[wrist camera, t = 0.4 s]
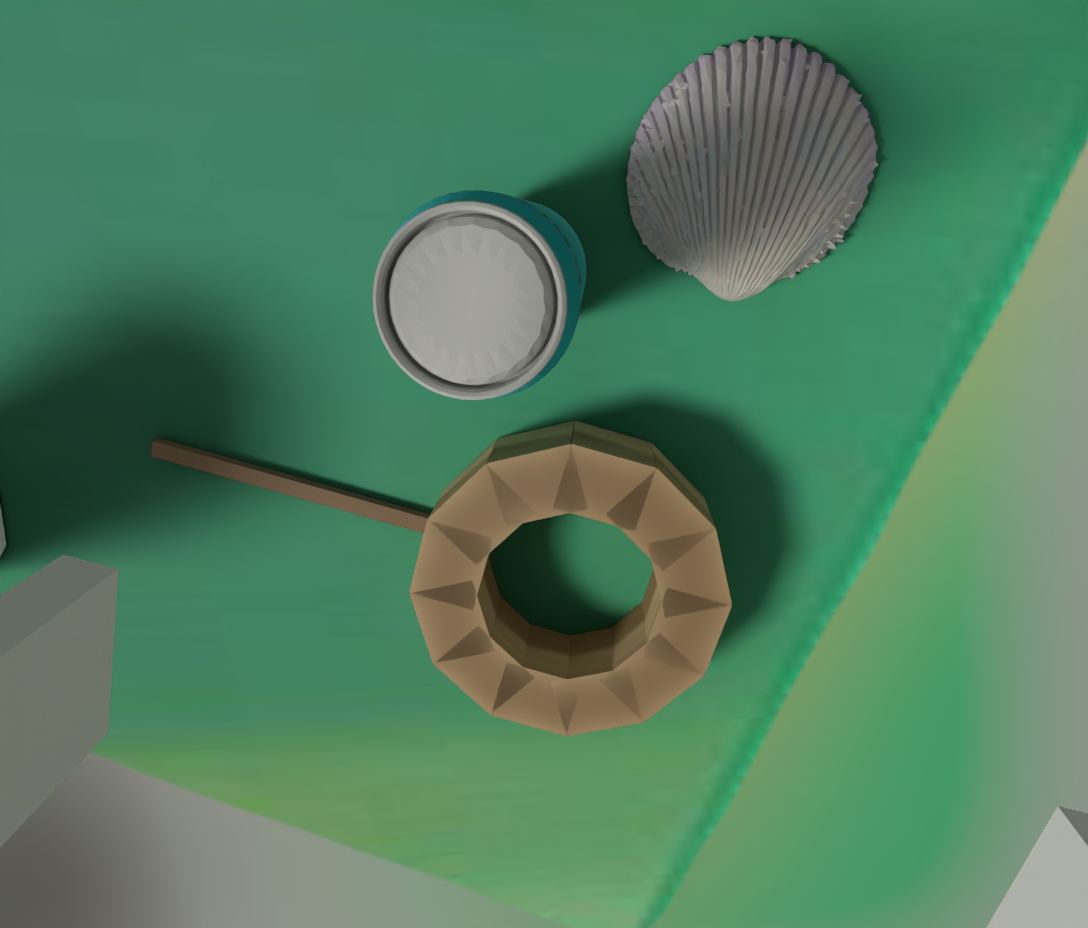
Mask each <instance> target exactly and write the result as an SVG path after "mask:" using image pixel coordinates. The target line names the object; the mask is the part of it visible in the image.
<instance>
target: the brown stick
mask: <svg viewBox="0 0 1088 928" xmlns="http://www.w3.org/2000/svg"><path fill="white" fill-rule="evenodd" d="M151 456H152V457H155V458H159V459H162V460H166V461H169V462H173V463H177V464H180V465H184V466H187V467H191V468H194V469H198V470H201V471H205V472H209V473H212V474H216V475H219V476H223V477H226V478H230V479H233V480H237V481H241V482H244V483H248V484H251V485H255V486H258V487H262V488H265V489H269V490H273V491H276V492H280V493H283V494H287V495H290V496H294V497H297V498H301V499H305V500H308V501H312V502H315V503H319V504H322V505H326V506H329V507H333V508H336V509H340V510H344V511H347V512H351V513H354V514H358V515H361V516H365V517H368V518H372V519H376V520H379V521H383V522H386V523H390V524H393V525H397V526H400V527H404V528H408V529H411V530H415V531H418V532H422V533H424V530H425V526H426V522H427V519H428V517H429V516H430V514H428V513H424V512H421V511H417V510H414V509H410V508H407V507H403V506H400V505H396V504H393V503H389V502H385V501H382V500H378V499H375V498H371V497H368V496H364V495H361V494H357V493H353V492H350V491H346V490H343V489H339V488H336V487H332V486H329V485H325V484H322V483H318V482H314V481H311V480H307V479H304V478H300V477H297V476H293V475H290V474H286V473H283V472H279V471H275V470H272V469H268V468H265V467H261V466H258V465H254V464H251V463H247V462H244V461H240V460H236V459H233V458H229V457H226V456H222V455H219V454H215V453H212V452H208V451H204V450H201V449H197V448H194V447H190V446H187V445H183V444H180V443H176V442H173V441H169V440H165V439H162V438H157V439H155V440H153V441H152V448H151Z"/></svg>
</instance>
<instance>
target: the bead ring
mask: <svg viewBox="0 0 1088 928" xmlns="http://www.w3.org/2000/svg"><path fill="white" fill-rule="evenodd" d="M567 513H572V514H576V515H580V516H583V517H587V518H590V519H594V520H597V521H601V522H604V523H608V524H611V525H615V526H618V527H619V528H620V529H621V530H622V531H623V532H624V533H625V534H626V535H627V536H628V537H629V538H630V539H631V540H632V541H633V542H634V543H635V544H636V545H637V546H638V547H639V548H640V549H641V550H642V551H643V552H644V553H645V554H646V555H647V556H648V557H649V558H650V559H651V561H652V565H653V569H654V570H653V573H652V576H651V578H650V581H649V584H648V587H647V590H646V593H645V595H644V598H643V601H642V602H641V603H640V604H639V605H638V606H637V607H635V608H634V609H633V610H632V611H630V612H629V613H628V614H627V615H626V616H624V617H623V618H622V619H621V620H620V621H618V622H617V623H616V624H615V625H613V626H612V627H611V628H606V629H601V630H596V631H590V632H585V633H580V634H575V635H567V634H563V633H560V632H556V631H552V630H549V629H545V628H542V627H538V626H535V625H531V624H529V623H528V622H527V621H526V620H525V619H524V618H523V617H522V616H521V615H520V614H519V613H518V612H516V611H515V610H514V609H513V608H512V607H511V606H510V605H509V604H508V603H507V602H506V601H505V600H504V599H503V598H501V597H500V594H499V590H498V587H497V584H496V580H495V577H494V574H493V570H492V567H491V564H490V561H489V557H490V553H491V551H492V550H493V549H495V548H496V547H497V546H498V545H499V544H500V543H501V542H502V541H503V540H505V539H506V538H507V537H508V536H509V535H510V534H511V533H512V532H513V531H514V530H516V529H517V528H518V527H519V526H520V525H521V524H522V523H526V522H531V521H535V520H540V519H544V518H549V517H553V516H558V515H563V514H567ZM409 594H410V597H411V600H412V603H413V606H414V609H415V612H416V615H417V618H418V621H419V624H420V626H421V629H422V632H423V635H424V638H425V641H426V644H427V647H428V650H429V653H430V656H431V659H432V662H433V663H434V665H435V666H436V667H437V668H438V669H439V670H441V671H442V672H443V673H444V674H445V675H446V676H447V677H448V678H450V679H451V680H452V681H453V682H454V683H455V684H456V685H457V686H458V687H460V688H461V689H462V690H463V691H464V692H465V693H466V694H467V695H468V696H470V697H471V698H472V699H473V700H474V701H475V702H476V703H477V704H479V705H480V706H481V707H482V708H483V709H484V710H485V711H486V712H487V713H489V714H491V715H492V716H496V717H499V718H503V719H506V720H510V721H514V722H517V723H521V724H524V725H528V726H532V727H535V728H539V729H542V730H546V731H550V732H553V733H557V734H560V735H564V736H569V735H575V734H581V733H586V732H592V731H598V730H603V729H609V728H614V727H620V726H626V725H631V724H637V723H643V722H645V721H646V720H647V719H648V718H650V717H651V716H652V715H654V714H655V713H656V712H658V711H659V710H660V709H662V708H663V707H664V706H665V705H667V704H668V703H669V702H671V701H672V700H673V699H675V698H676V697H677V696H678V695H680V694H681V693H682V692H684V691H685V690H686V689H688V688H689V687H690V686H692V685H693V684H694V683H695V682H697V681H698V680H699V679H701V678H702V677H703V676H704V675H705V673H706V670H707V668H708V665H709V663H710V660H711V658H712V655H713V653H714V650H715V648H716V645H717V643H718V640H719V637H720V635H721V632H722V630H723V627H724V625H725V622H726V620H727V617H728V615H729V612H730V610H731V607H732V602H731V597H730V593H729V588H728V583H727V578H726V574H725V569H724V564H723V559H722V555H721V550H720V545H719V540H718V536H717V531H716V527H715V525H714V522H713V519H712V517H711V514H710V511H709V509H708V506H707V503H706V501H705V498H704V496H703V495H702V494H701V493H700V492H699V491H698V490H697V489H696V488H695V487H694V486H693V485H692V484H691V483H690V482H689V481H688V480H687V479H686V478H685V477H684V476H683V475H682V474H681V473H680V472H679V471H678V469H677V468H676V467H675V466H674V465H673V464H672V463H671V462H670V461H669V460H668V459H667V458H666V457H665V456H664V455H663V454H662V453H661V452H660V451H659V450H658V449H657V448H656V447H655V446H654V445H653V444H652V443H651V442H649V441H645V440H642V439H638V438H635V437H631V436H628V435H624V434H621V433H617V432H614V431H610V430H607V429H603V428H600V427H596V426H592V425H589V424H585V423H582V422H578V421H575V422H574V421H569V422H565V423H561V424H557V425H552V426H548V427H544V428H540V429H535V430H531V431H527V432H523V433H518V434H514V435H510V436H506V437H501V438H498V439H497V440H496V441H495V442H493V443H492V444H491V445H490V446H489V447H488V448H487V449H486V450H485V451H484V452H483V453H482V454H481V455H480V456H479V457H478V458H477V459H476V460H475V461H474V462H473V463H471V464H470V465H469V466H468V467H467V468H466V469H465V470H464V471H463V472H462V473H461V474H460V475H459V476H458V477H457V478H456V479H455V480H454V481H453V482H452V483H451V484H449V485H448V486H447V487H446V488H445V490H444V491H443V493H442V495H441V496H440V498H439V500H438V502H437V503H436V505H435V507H434V509H433V510H432V512H431V514H430V516H429V517H428V519H427V522H426V526H425V530H424V535H423V539H422V543H421V547H420V551H419V555H418V559H417V563H416V567H415V571H414V575H413V579H412V584H411V588H410V592H409Z"/></svg>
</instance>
